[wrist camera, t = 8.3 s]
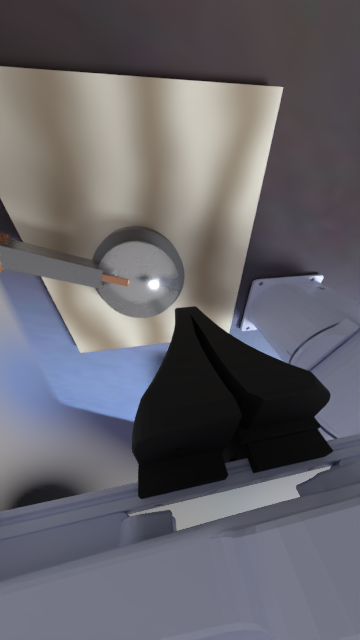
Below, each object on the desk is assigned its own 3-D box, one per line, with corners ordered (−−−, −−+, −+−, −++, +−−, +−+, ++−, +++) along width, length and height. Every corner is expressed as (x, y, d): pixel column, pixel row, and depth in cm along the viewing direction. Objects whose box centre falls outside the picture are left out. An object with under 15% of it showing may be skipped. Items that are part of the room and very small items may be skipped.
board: (274, 93, 12) (299, 75, 10) (225, 330, 25) (232, 342, 23) (-54, 71, 10) (-105, 41, 8) (82, 347, 23) (77, 362, 21)
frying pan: (-66, 173, 10) (-101, 170, 9) (188, 254, 15) (192, 260, 14) (-28, 282, 14) (-48, 293, 12) (166, 317, 19) (167, 328, 17)
